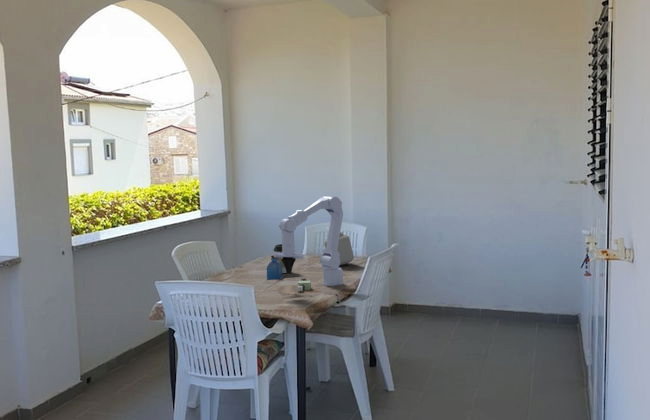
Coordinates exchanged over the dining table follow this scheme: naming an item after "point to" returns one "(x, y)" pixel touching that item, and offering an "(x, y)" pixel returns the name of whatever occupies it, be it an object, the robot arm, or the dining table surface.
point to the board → (294, 289)
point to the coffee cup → (279, 250)
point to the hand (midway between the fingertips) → (289, 273)
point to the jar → (344, 249)
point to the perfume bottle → (274, 269)
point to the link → (301, 287)
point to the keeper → (306, 283)
